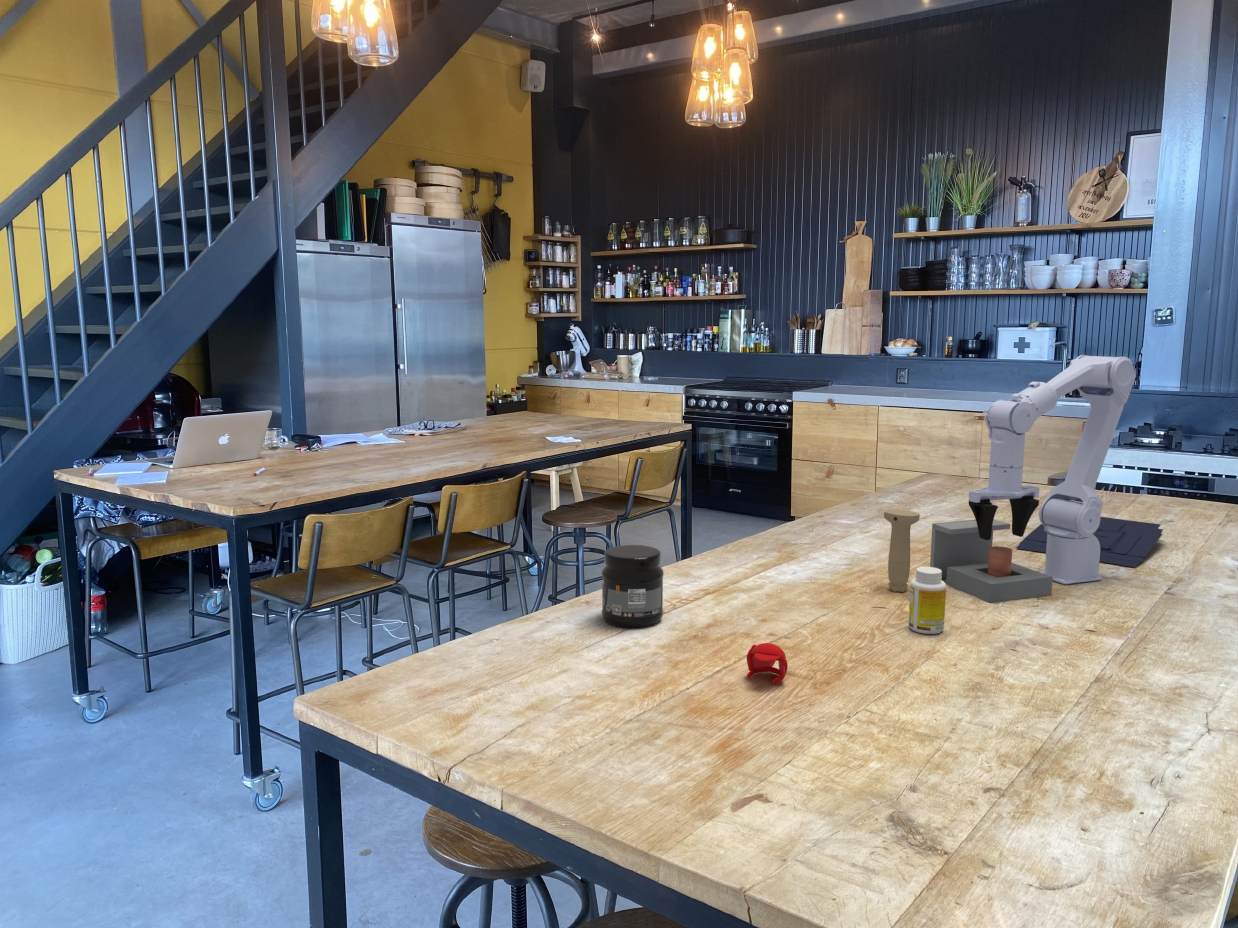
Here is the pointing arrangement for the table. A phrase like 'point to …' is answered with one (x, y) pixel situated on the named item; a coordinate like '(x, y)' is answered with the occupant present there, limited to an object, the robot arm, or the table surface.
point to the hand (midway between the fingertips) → (1001, 537)
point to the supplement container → (632, 586)
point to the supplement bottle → (927, 601)
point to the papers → (1110, 540)
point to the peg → (999, 561)
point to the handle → (899, 547)
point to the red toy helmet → (767, 660)
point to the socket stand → (980, 564)
